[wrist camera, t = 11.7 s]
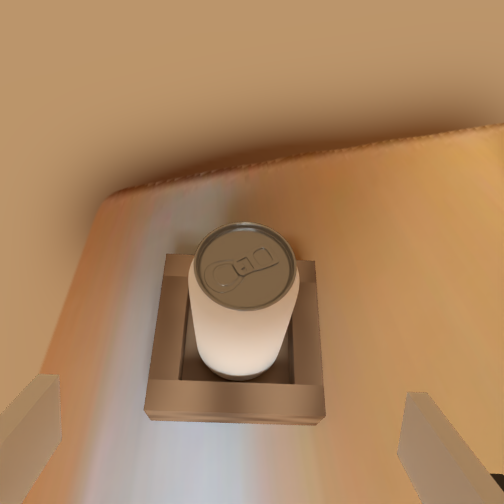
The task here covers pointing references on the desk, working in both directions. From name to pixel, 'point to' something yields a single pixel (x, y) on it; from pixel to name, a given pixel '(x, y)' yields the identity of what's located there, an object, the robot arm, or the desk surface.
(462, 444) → the robot arm
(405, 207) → the desk surface
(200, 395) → the holder
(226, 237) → the can
